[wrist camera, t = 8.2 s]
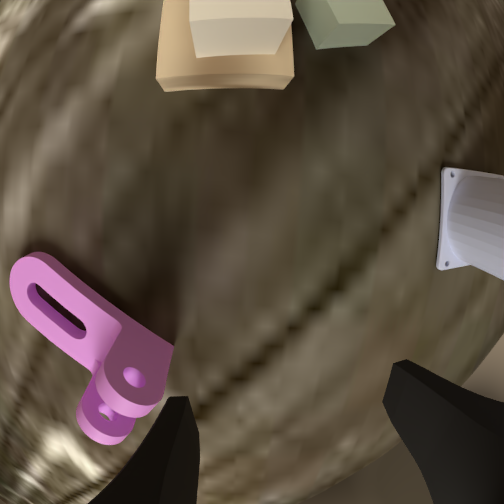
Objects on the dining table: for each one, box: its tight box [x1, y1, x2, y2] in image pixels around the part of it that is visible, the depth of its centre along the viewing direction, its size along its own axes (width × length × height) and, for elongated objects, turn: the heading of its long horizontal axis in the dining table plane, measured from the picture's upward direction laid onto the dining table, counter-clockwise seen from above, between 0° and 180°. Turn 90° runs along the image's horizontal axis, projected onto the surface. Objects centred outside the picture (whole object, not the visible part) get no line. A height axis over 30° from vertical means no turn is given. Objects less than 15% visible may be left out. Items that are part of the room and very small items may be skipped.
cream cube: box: [189, 0, 293, 58], centre depth 9 cm, size 4×4×4 cm
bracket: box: [10, 252, 174, 445], centre depth 14 cm, size 13×6×7 cm, turn 51°
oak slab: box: [156, 0, 294, 92], centre depth 13 cm, size 7×7×3 cm
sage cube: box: [295, 0, 395, 50], centre depth 12 cm, size 4×4×4 cm
